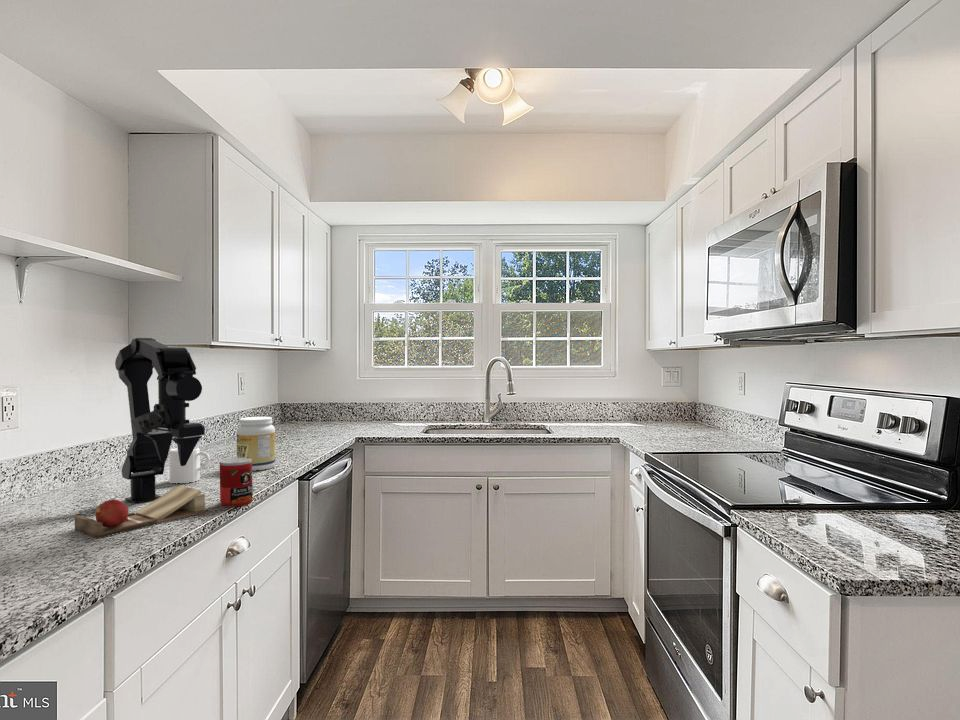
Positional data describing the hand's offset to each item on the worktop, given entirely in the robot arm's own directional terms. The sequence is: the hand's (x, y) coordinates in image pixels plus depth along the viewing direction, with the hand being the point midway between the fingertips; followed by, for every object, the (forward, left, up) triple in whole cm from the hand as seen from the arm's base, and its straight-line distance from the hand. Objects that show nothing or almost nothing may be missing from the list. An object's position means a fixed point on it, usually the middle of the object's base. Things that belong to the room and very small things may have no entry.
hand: (173, 463), depth 137 cm
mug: (-31, +21, -12) cm, 40 cm away
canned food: (+5, +13, -12) cm, 19 cm away
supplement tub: (-32, +44, -12) cm, 56 cm away
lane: (+1, -8, -12) cm, 14 cm away
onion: (+4, -18, -6) cm, 20 cm away
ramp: (+1, -2, -12) cm, 12 cm away
